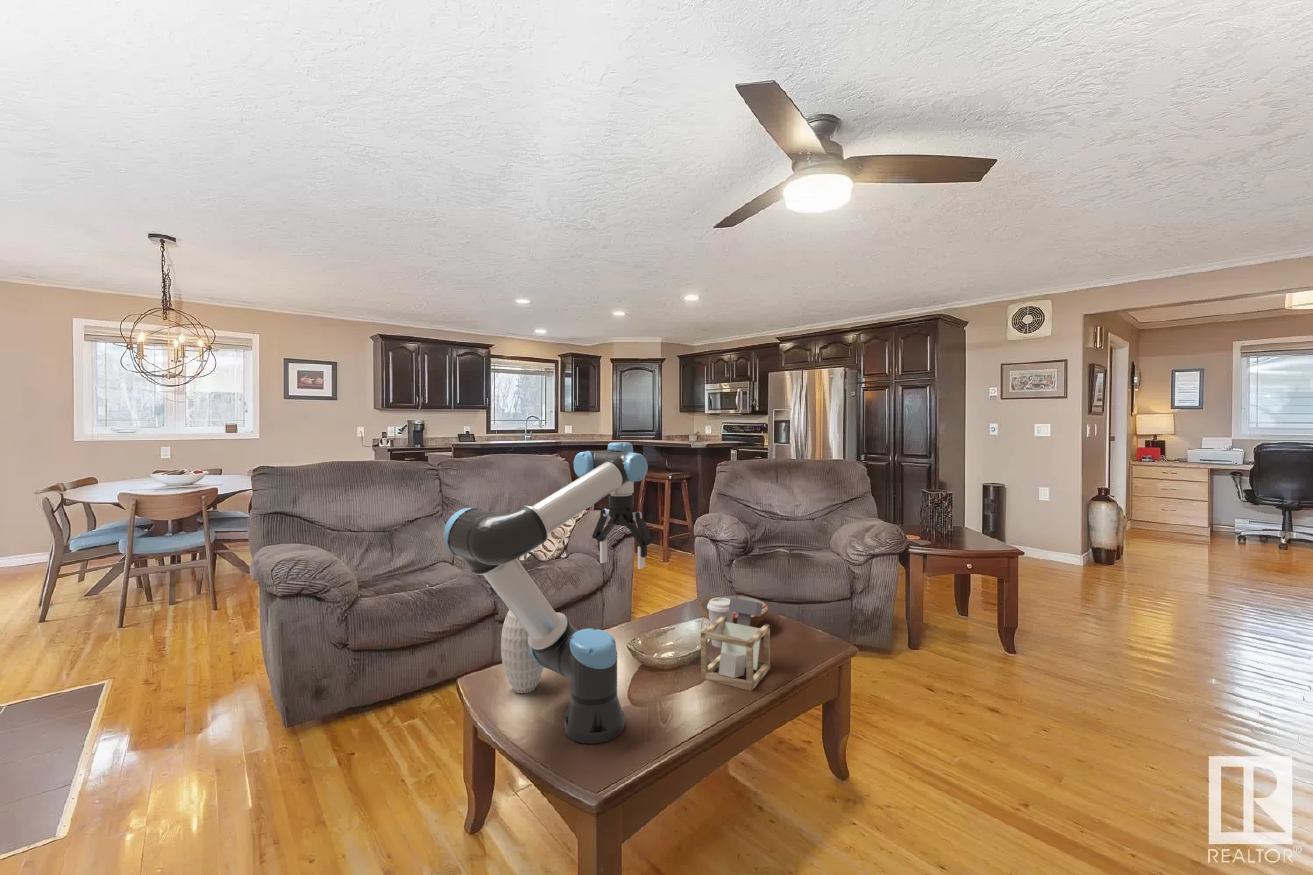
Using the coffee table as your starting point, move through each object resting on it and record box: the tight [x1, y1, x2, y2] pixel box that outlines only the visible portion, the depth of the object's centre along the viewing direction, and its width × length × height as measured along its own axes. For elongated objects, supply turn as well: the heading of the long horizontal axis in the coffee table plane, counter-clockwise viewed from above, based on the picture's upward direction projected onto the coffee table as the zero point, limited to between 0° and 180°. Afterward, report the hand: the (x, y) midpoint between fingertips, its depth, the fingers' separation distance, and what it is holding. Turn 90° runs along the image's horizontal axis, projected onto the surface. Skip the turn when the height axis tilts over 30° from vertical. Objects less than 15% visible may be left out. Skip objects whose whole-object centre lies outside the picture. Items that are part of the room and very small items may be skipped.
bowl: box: [700, 594, 770, 628], centre depth 207 cm, size 25×25×8 cm
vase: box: [500, 608, 545, 695], centre depth 160 cm, size 13×13×28 cm
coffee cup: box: [707, 597, 733, 649], centre depth 191 cm, size 10×10×15 cm
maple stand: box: [700, 616, 771, 692], centre depth 169 cm, size 16×16×14 cm
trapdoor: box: [720, 598, 762, 671], centre depth 173 cm, size 20×12×5 cm
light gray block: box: [718, 651, 746, 678], centre depth 166 cm, size 6×5×8 cm
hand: (622, 565), depth 165 cm, fingers open, 13 cm apart
